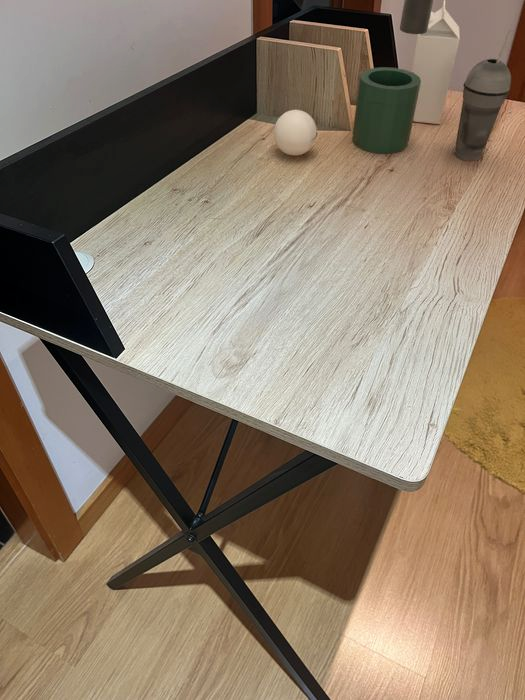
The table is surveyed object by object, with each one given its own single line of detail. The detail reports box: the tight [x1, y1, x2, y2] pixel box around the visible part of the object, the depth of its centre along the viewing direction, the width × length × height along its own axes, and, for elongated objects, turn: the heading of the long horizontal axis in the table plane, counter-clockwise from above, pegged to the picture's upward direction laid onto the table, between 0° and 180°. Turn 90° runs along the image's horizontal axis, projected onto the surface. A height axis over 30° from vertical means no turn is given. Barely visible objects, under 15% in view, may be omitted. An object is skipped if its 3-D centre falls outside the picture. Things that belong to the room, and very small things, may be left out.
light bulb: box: [273, 109, 318, 157], centre depth 98 cm, size 10×7×7 cm
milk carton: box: [410, 0, 461, 125], centre depth 105 cm, size 7×7×19 cm
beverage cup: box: [454, 29, 513, 162], centre depth 93 cm, size 7×7×20 cm
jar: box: [351, 66, 421, 155], centre depth 99 cm, size 10×10×11 cm
